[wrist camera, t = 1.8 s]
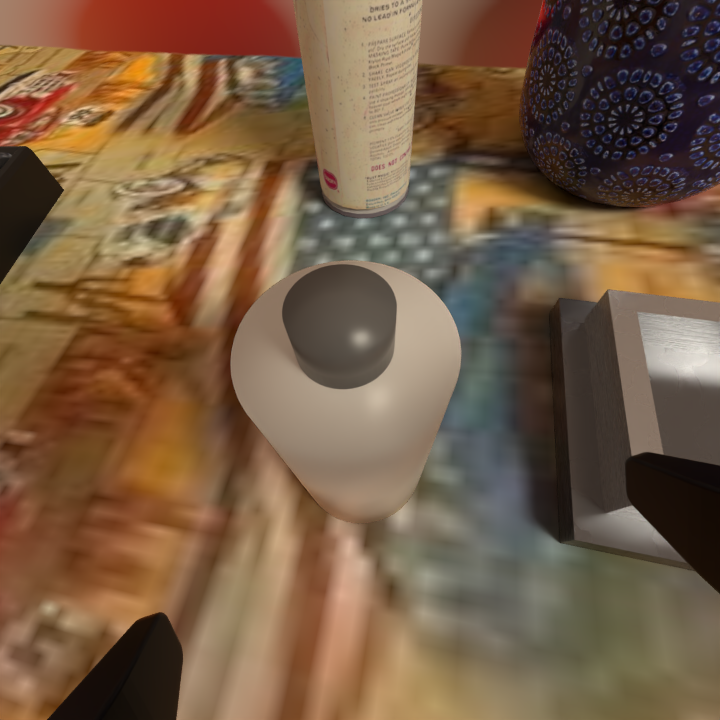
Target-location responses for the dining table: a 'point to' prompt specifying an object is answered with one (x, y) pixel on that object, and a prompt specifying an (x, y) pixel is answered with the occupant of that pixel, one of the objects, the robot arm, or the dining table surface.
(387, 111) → the aerosol can
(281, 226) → the dining table surface
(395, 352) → the white bottle
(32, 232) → the food platter
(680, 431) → the grey square tray
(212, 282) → the dining table surface
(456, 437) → the dining table surface
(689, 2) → the planter
